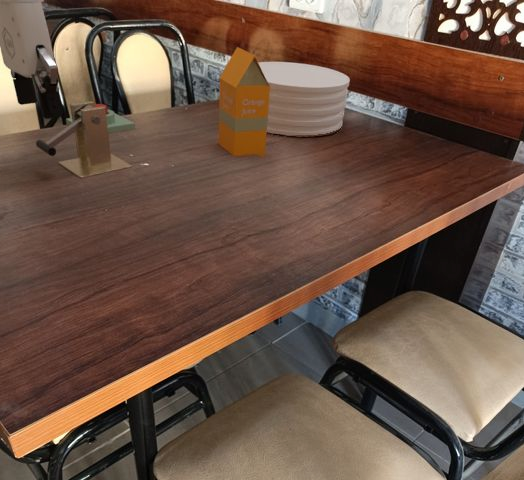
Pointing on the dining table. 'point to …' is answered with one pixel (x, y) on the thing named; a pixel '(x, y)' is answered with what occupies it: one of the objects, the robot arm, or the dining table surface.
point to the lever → (61, 135)
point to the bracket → (92, 144)
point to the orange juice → (243, 105)
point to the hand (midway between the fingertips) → (40, 110)
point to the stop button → (102, 106)
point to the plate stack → (304, 98)
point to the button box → (113, 122)
